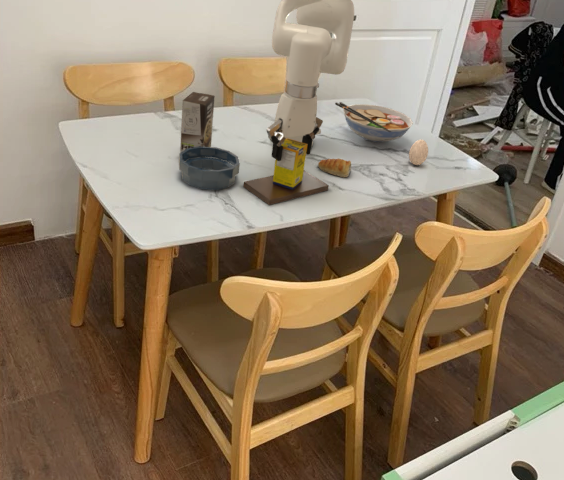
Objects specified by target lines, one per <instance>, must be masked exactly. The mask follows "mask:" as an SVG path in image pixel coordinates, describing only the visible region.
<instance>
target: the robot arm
mask: <svg viewBox="0 0 564 480" xmlns="http://www.w3.org/2000/svg"><path fill="white" fill-rule="evenodd" d="M354 5H355V4H354V2H353V0H281V1H280V2H279V4H278V6H277V9H276V12H275V17H274V23H273V29H272V35H271V47H272V50H273V52H274V53H275V54H277V55H279V56H282V57H285V77H284V85H283V92H282V93H281V96H280V97H279V100H278V103H277V107H276V113H275V116H274V122H273V123H272V124H271V125H269V126H268V127H267V128H266V133H267V136H268V139H269V140H270V143H272V148H271V158H273V159H274V160H277V161H281V158H282V151H283V146H281V145H282V143H283V142H284V141H285V139H287V138H289V139H292V140H295V141H299V142H302V143H305V144H308V145H307V152H306V155H311V152H312V147H313V145H314V140H315V139H316V136H317V135H320V134H321V133H322V130H321V126H322V124H323V122H324V121H323V119H321V118H319V117H317V113H318V112H317V111H318V96H317V92H318V88H319V87H320V83H319V79H320V74H327V75H334V76H335V75H336V76H337V75H341V74H342V73H343V72H344V71H345V70H346V66H347V63H348V57H349V51H350V45H351V39H352V38H351V37H352V32H353V27H354V20H355V6H354ZM295 10H296V14H295V15H296V18H295V19H296V22H297V23H294V22H293V23H292V22H287V19H288V17H289V15H290V14H291V13H292V12H294V11H295ZM331 34H332V35H334V37H332V36H331Z"/></svg>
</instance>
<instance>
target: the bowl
mask: <svg viewBox="0 0 564 480" xmlns="http://www.w3.org/2000/svg"><path fill="white" fill-rule="evenodd" d="M197 157H198V158H197ZM191 158H192V159H191ZM240 166H241V163H240V158H239V156H237V155H236V154H235V153H233V152H232V151H230V150H227V149H224V148H221V147H217V146H211V147H204V146H198V147H192V148H187V149H185V150H184V151H182V152H181V153H180V152H179V153H178V169H179V171H180V172H181V181H183V182H184V183H186V184H187V185H189V186H190V187H192V188H193V187H194V188H196V189H200V190H208V191H218V190H223V189H227V188H230V187H231V186H232V185H234V184H235V182H236V176H237V175H239V173H240Z"/></svg>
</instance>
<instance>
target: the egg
mask: <svg viewBox="0 0 564 480" xmlns="http://www.w3.org/2000/svg"><path fill="white" fill-rule="evenodd" d="M428 154H429V145H428V143H427V142H426V140H424V139H418V140H416V141H415V142H413V144H412V145H411V147H410V149H409V152H408V158H409V161H410V163H411V164H412V165H414V166H420V165H422V164H423V163H424V162H425V161H426V160H427V158H428V156H429V155H428Z"/></svg>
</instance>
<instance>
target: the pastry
mask: <svg viewBox="0 0 564 480" xmlns="http://www.w3.org/2000/svg"><path fill="white" fill-rule="evenodd" d="M317 166H318V168H319V170H321V171H322V172H324V173H327V174H330V175H333V176H335V177H337V176H338V177H340V178H348V177H349V176H350V172H351V171H352V161H351V160H345V159H343V158H327V159H321V160H320V161H318V163H317Z"/></svg>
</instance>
